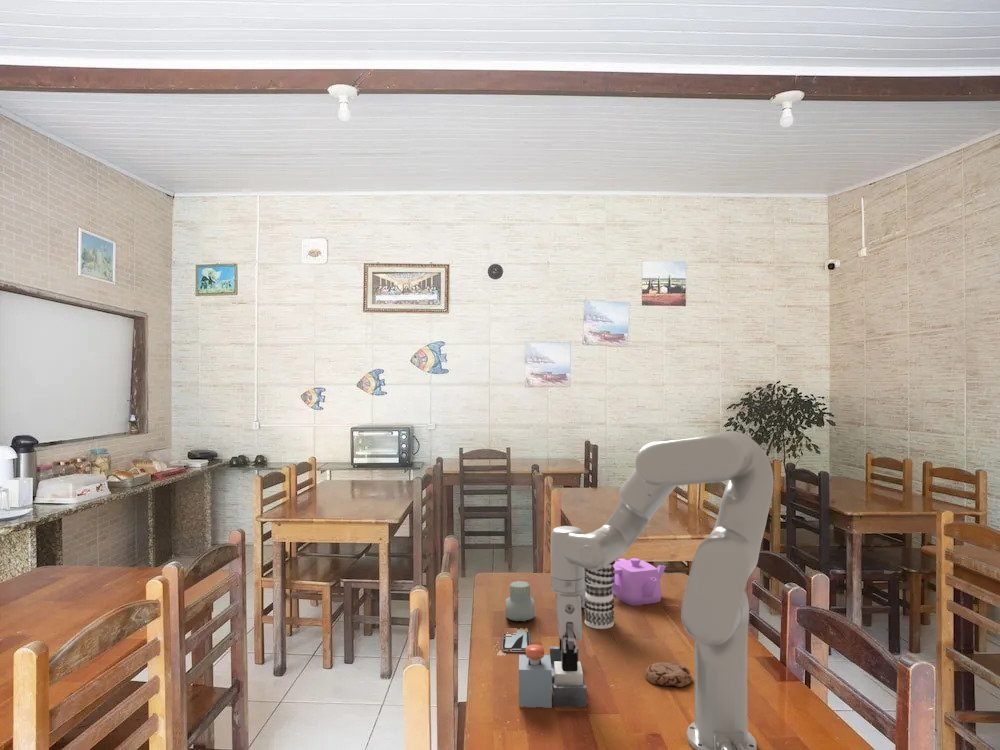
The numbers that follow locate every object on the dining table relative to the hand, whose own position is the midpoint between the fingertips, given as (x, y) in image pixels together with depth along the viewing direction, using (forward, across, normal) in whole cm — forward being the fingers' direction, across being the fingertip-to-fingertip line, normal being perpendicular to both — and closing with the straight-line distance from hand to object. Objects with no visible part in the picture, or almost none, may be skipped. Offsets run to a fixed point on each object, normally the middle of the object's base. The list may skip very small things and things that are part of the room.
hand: (568, 660), depth 133 cm
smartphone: (+8, +28, +12) cm, 31 cm away
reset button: (+2, -2, +8) cm, 8 cm away
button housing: (+7, -2, +8) cm, 11 cm away
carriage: (+6, 0, 0) cm, 6 cm away
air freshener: (+8, +43, +11) cm, 45 cm away
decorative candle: (+8, +40, -12) cm, 42 cm away
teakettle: (+8, +61, -27) cm, 67 cm away
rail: (+7, +5, 0) cm, 9 cm away
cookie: (+8, +8, -24) cm, 26 cm away
